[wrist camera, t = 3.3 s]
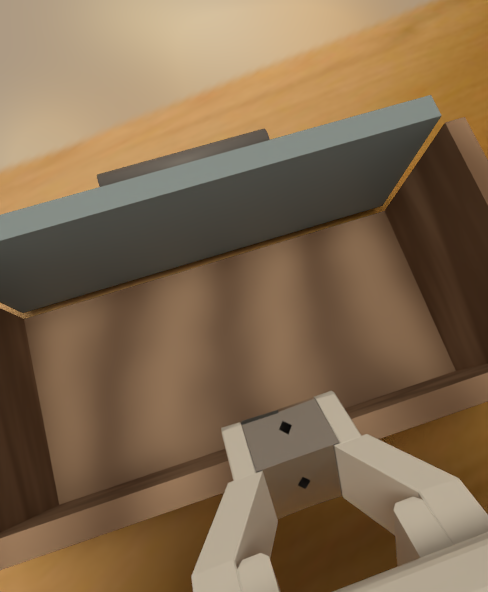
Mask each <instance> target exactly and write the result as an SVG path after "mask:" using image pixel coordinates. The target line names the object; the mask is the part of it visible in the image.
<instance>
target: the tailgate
mask: <svg viewBox="0 0 488 592" xmlns="http://www.w3.org/2000/svg"><path fill="white" fill-rule="evenodd" d="M440 117H441V114H440V112H439V110H438V108H437V106H436V104H435V102H434V100H433V98H432V96H431V95H429V96H426V97H422V98H418V99H415V100H411V101H408V102H404V103H400V104H397V105H393V106H390V107H386V108H383V109H379V110H375V111H372V112H368V113H365V114H361V115H357V116H354V117H350V118H347V119H343V120H339V121H336V122H332V123H329V124H325V125H321V126H318V127H314V128H311V129H307V130H304V131H300V132H296V133H293V134H289V135H286V136H282V137H278V138H275V139H271V140H269V136H268V133H267V131H266V130H265V129H261V130H257V131H254V132H250V133H246V134H243V135H239V136H236V137H232V138H228V139H225V140H221V141H217V142H214V143H210V144H207V145H203V146H199V147H196V148H192V149H188V150H185V151H181V152H178V153H174V154H170V155H167V156H163V157H159V158H156V159H152V160H149V161H145V162H141V163H138V164H134V165H130V166H127V167H123V168H120V169H116V170H112V171H109V172H105V173H101V174H98V175H97V179H98V183H99V186H100V187H99V188H95V189H92V190H88V191H84V192H81V193H77V194H74V195H70V196H67V197H63V198H59V199H56V200H52V201H49V202H45V203H41V204H38V205H34V206H31V207H27V208H23V209H20V210H16V211H13V212H9V213H5V214H2V215H0V302H1V303H3V304H5V305H7V306H9V307H11V308H13V309H15V310H17V311H19V312H22V313H25V312H28V311H31V310H35V309H38V308H41V307H45V306H48V305H51V304H55V303H58V302H61V301H65V300H68V299H72V298H75V297H78V296H82V295H85V294H88V293H92V292H95V291H98V290H102V289H105V288H108V287H112V286H115V285H118V284H122V283H125V282H128V281H132V280H135V279H139V278H142V277H145V276H149V275H152V274H155V273H159V272H162V271H165V270H169V269H172V268H175V267H179V266H182V265H185V264H189V263H192V262H195V261H199V260H202V259H206V258H209V257H212V256H216V255H219V254H222V253H226V252H229V251H232V250H236V249H239V248H242V247H246V246H249V245H252V244H256V243H259V242H262V241H266V240H269V239H273V238H276V237H279V236H283V235H286V234H289V233H293V232H296V231H299V230H303V229H306V228H309V227H313V226H316V225H319V224H323V223H326V222H329V221H333V220H336V219H340V218H343V217H346V216H350V215H353V214H356V213H360V212H363V211H366V210H370V209H373V208H376V207H380V206H382V205H383V204H384V202H385V201H386V199H387V198H388V196H389V195H390V193H391V192H392V190H393V189H394V187H395V186H396V184H397V183H398V181H399V180H400V178H401V177H402V175H403V173H404V172H405V170H406V169H407V167H408V166H409V164H410V163H411V161H412V160H413V158H414V157H415V155H416V154H417V152H418V151H419V149H420V148H421V146H422V145H423V143H424V142H425V140H426V138H427V137H428V135H429V134H430V132H431V131H432V129H433V128H434V126H435V125H436V123H437V122H438V120H439V119H440Z"/></svg>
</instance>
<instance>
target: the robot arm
mask: <svg viewBox="0 0 488 592" xmlns="http://www.w3.org/2000/svg"><path fill="white" fill-rule="evenodd" d="M241 424H242V426H241ZM242 428H243V429H242ZM221 430H222V436H223V440H224V444H225V448H226V452H227V456H228V460H229V464H230V468H231V472H232V477H233V481H232V482H229V483H228V484H227V487H226V489H225V492H224V494H223V497H222V499H221V502H220V504H219V507H218V510H217V512H216V515H215V517H214V520H213V522H212V525H211V527H210V530H209V533H208V535H207V538H206V540H205V543H204V545H203V548H202V551H201V553H200V556H199V558H198V561H197V563H196V566H195V568H194V571H193V574H192V576H191V577H192V586H193V592H281V590H280V588H279V585H278V582H277V579H276V576H275V573H274V570H273V567H272V564H271V561H270V558H271V553H272V548H273V543H274V538H275V534H276V529H277V524H278V520H277V519H279V518H282V517H284V516H287V515H289V514H292V513H294V512H297V511H299V510H302V509H304V508H307V507H309V506H313V505H316V504H319V503H322V502H325V501H328V500H331V499H334V498H337V497H340V496H343V498H345V499H346V500H347V501H349V502H350V503H351V504H353V505H354V506H355V507H357V508H358V509H360V510H361V511H362V512H364V513H365V514H366V515H368V516H369V517H370V518H372V519H373V520H374V521H376V522H377V523H379V524H380V525H381V526H383V527H384V528H385V529H387V530H388V531H389V532H391V533H392V534H394V535H395V539H396V554H397V567H395V568H392V569H390V570H387V571H385V572H382V573H379V574H377V575H374V576H372V577H369V578H367V579H364V580H361V581H359V582H356V583H354V584H351V585H348V586H346V587H343V588H341V589H338V590H335V591H333V592H488V514H487V513H486V512H485V511H484V509H483V508H482V507H481V506H480V504H479V503H478V502H477V501H476V499H475V498H474V497H473V495H472V494H471V493H470V492H469V490H468V489H467V488H466V487H465V485H464V484H463V483H462V482H461V480H460V479H459V478H457V477H455V476H453V475H451V474H449V473H447V472H445V471H443V470H441V469H439V468H437V467H434V466H432V465H430V464H428V463H426V462H424V461H422V460H420V459H418V458H416V457H414V456H412V455H410V454H408V453H406V452H403V451H401V450H399V449H397V448H395V447H393V446H391V445H389V444H387V443H385V442H383V441H381V440H379V439H377V438H375V437H373V436H370V435H368V434H365V435H362V436H361V434H360V432H359V431H358V429H357V428H356V426H355V424H354V423H353V421H352V420H351V418H350V417H349V415H348V413H347V412H346V410H345V409H344V407H343V405H342V404H341V402H340V401H339V399H338V398H337V396H336V394H335V393H334V392H333V391H329V392H326V393H323V394H320V395H317V396H314V397H313V398H309V399H306V400H303V401H300V402H297V403H295V404H292V405H289V406H286V407H283V408H280V409H277V410H275V411H272V412H269V413H266V414H263V415H260V416H256V417H253V418H250V419H247V420H244V421H241V423H240V422H239V423H235V424H232V425H229V426H226V427H222V428H221ZM243 431H244V432H243ZM244 434H245V435H244Z"/></svg>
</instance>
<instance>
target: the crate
mask: <svg viewBox="0 0 488 592" xmlns="http://www.w3.org/2000/svg"><path fill="white" fill-rule="evenodd" d="M329 391H333V392H334V393H335V394H336V396H337V398H338V399H339V401H340V402H341V404H342V405H343V407H344V409H345V410H346V412H347V413H348V415H349V417H350V418H351V420H352V421H353V423H354V424H355V426H356V428H357V429H358V431H359V432H360V434H361V436H362V435H365V434H368V435H370V436H373V437H375V438H377V439H380V438H383V437H386V436H389V435H392V434H395V433H398V432H401V431H404V430H406V429H409V428H412V427H415V426H418V425H421V424H424V423H427V422H430V421H432V420H435V419H438V418H441V417H444V416H447V415H450V414H453V413H456V412H458V411H461V410H464V409H467V408H470V407H473V406H476V405H479V404H482V403H484V402H487V401H488V160H487V158H486V156H485V154H484V152H483V150H482V149H481V147H480V145H479V143H478V141H477V139H476V137H475V135H474V134H473V132H472V130H471V128H470V126H469V124H468V122H467V120H466V119H465V117H463V118H460V119H456V120H453V121H449V122H446V123H445V124H444V125H443V126H442V128H441V129H440V131H439V132H438V134H437V135H436V137H435V138H434V140H433V141H432V143H431V144H430V145H429V147H428V148H427V150H426V151H425V153H424V154H423V156H422V157H421V159H420V160H419V162H418V163H417V164H416V166H415V167H414V169H413V170H412V172H411V173H410V175H409V176H408V178H407V179H406V181H405V182H404V183H403V185H402V186H401V188H400V189H399V191H398V192H397V194H396V195H395V197H394V198H393V200H392V201H391V202H390V204H389V205H388V207H387V208H386V210H385V211H383V212H380V213H376V214H373V215H370V216H366V217H363V218H360V219H356V220H353V221H349V222H346V223H343V224H339V225H336V226H333V227H329V228H326V229H323V230H319V231H316V232H313V233H309V234H306V235H303V236H299V237H296V238H293V239H289V240H286V241H283V242H279V243H276V244H273V245H269V246H266V247H263V248H259V249H256V250H253V251H249V252H246V253H243V254H239V255H236V256H233V257H229V258H226V259H223V260H219V261H216V262H213V263H209V264H206V265H203V266H199V267H196V268H193V269H189V270H186V271H183V272H179V273H176V274H173V275H169V276H166V277H163V278H159V279H156V280H153V281H149V282H146V283H143V284H139V285H136V286H133V287H129V288H126V289H123V290H119V291H116V292H113V293H109V294H106V295H103V296H99V297H96V298H93V299H89V300H86V301H83V302H79V303H76V304H73V305H69V306H66V307H63V308H59V309H56V310H53V311H49V312H46V313H43V314H39V315H36V316H33V317H29V318H26V319H23V318H20V317H18V316H16V315H14V314H11V313H9V312H7V311H5V310H3V309H0V570H2V569H5V568H8V567H11V566H14V565H17V564H20V563H22V562H25V561H28V560H31V559H34V558H37V557H40V556H43V555H46V554H48V553H51V552H54V551H57V550H60V549H63V548H66V547H69V546H72V545H74V544H77V543H80V542H83V541H86V540H89V539H92V538H95V537H98V536H100V535H103V534H106V533H109V532H112V531H115V530H118V529H121V528H123V527H126V526H129V525H132V524H135V523H138V522H141V521H144V520H147V519H149V518H152V517H155V516H158V515H161V514H164V513H167V512H170V511H173V510H175V509H178V508H181V507H184V506H187V505H190V504H193V503H196V502H199V501H201V500H204V499H207V498H210V497H213V496H216V495H219V494H222V493H224V492H225V489H226V487H227V484H228V483H229V482H232V481H233V477H232V472H231V468H230V464H229V460H228V456H227V452H226V448H225V444H224V440H223V436H222V430H221V428H222V427H226V426H229V425H232V424H235V423H239V422H240V423H241V421H244V420H247V419H250V418H253V417H256V416H260V415H263V414H266V413H269V412H272V411H275V410H277V409H280V408H283V407H286V406H289V405H292V404H295V403H297V402H300V401H303V400H306V399H309V398H313V397H314V396H317V395H320V394H323V393H326V392H329ZM241 426H242V424H241ZM242 429H243V428H242ZM243 432H244V431H243ZM244 435H245V434H244Z"/></svg>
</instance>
